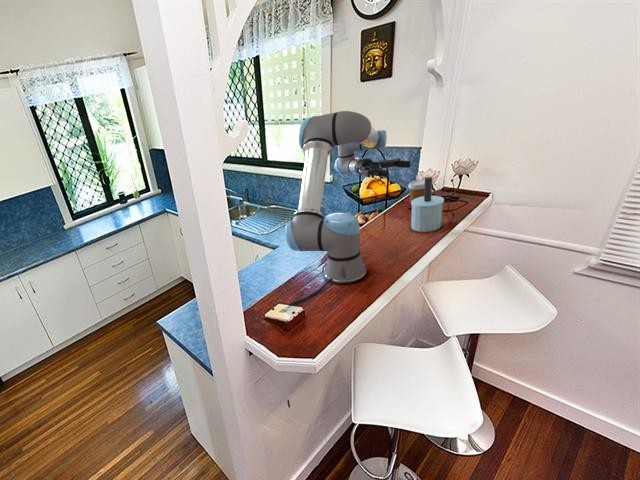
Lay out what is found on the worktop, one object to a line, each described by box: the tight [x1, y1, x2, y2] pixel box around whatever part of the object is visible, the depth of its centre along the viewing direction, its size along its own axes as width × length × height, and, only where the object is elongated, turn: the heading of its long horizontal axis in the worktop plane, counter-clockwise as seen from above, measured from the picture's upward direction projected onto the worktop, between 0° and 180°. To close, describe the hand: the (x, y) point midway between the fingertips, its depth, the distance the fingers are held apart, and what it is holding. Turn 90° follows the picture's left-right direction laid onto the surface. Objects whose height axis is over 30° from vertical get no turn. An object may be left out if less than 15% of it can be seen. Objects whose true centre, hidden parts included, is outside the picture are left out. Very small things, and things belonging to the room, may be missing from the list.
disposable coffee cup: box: [407, 179, 425, 208], centre depth 170 cm, size 10×10×12 cm
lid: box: [410, 176, 445, 207], centre depth 144 cm, size 12×12×11 cm
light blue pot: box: [410, 202, 444, 233], centre depth 149 cm, size 11×11×12 cm
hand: (399, 168), depth 149 cm, fingers open, 13 cm apart
